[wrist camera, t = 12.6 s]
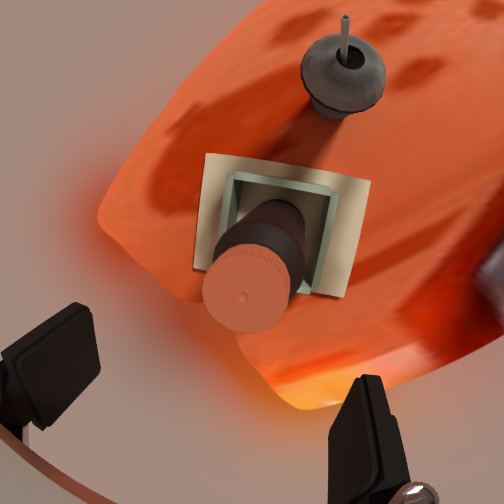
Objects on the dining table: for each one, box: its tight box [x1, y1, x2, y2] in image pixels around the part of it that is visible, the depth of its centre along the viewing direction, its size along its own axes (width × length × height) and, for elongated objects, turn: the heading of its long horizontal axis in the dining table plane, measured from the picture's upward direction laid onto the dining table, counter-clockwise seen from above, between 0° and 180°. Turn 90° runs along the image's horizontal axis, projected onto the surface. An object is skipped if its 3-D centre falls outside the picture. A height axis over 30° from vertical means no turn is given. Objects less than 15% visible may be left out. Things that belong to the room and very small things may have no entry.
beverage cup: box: [301, 14, 386, 121], centre depth 21 cm, size 7×7×20 cm
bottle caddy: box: [193, 153, 371, 298], centre depth 33 cm, size 20×15×6 cm
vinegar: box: [201, 199, 305, 334], centre depth 25 cm, size 7×7×20 cm
